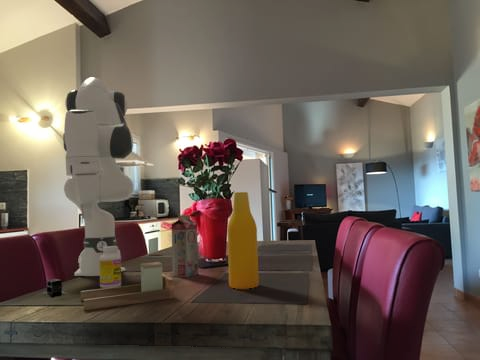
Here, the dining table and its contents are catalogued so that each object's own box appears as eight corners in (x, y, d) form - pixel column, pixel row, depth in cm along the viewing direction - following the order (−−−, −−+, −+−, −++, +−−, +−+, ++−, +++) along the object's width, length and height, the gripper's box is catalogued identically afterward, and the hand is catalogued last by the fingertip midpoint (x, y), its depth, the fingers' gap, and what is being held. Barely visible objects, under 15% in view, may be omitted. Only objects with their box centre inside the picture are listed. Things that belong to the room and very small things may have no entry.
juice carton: (198, 274, 142) (196, 214, 144) (186, 277, 137) (185, 215, 138) (184, 272, 146) (182, 214, 147) (172, 276, 140) (171, 215, 142)
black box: (34, 294, 119) (34, 279, 119) (58, 290, 124) (58, 276, 124) (50, 300, 110) (50, 284, 111) (75, 295, 116) (75, 280, 116)
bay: (80, 300, 107) (80, 282, 108) (162, 289, 118) (162, 273, 118) (84, 310, 96) (83, 290, 96) (174, 297, 106) (173, 279, 107)
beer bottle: (264, 286, 117) (261, 191, 119) (239, 291, 112) (235, 191, 114) (248, 282, 125) (245, 192, 127) (223, 286, 120) (220, 193, 122)
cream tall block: (140, 295, 111) (140, 263, 112) (158, 292, 113) (158, 261, 114) (144, 299, 106) (144, 265, 107) (163, 296, 109) (162, 264, 109)
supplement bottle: (114, 288, 121) (114, 247, 122) (95, 288, 122) (95, 248, 123) (125, 284, 128) (124, 245, 128) (107, 284, 129) (106, 245, 130)
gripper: (70, 170, 112) (72, 218, 112) (72, 166, 94) (75, 223, 94) (93, 170, 115) (95, 216, 115) (99, 166, 96) (102, 221, 96)
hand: (86, 219), depth 104 cm, fingers open, 8 cm apart
